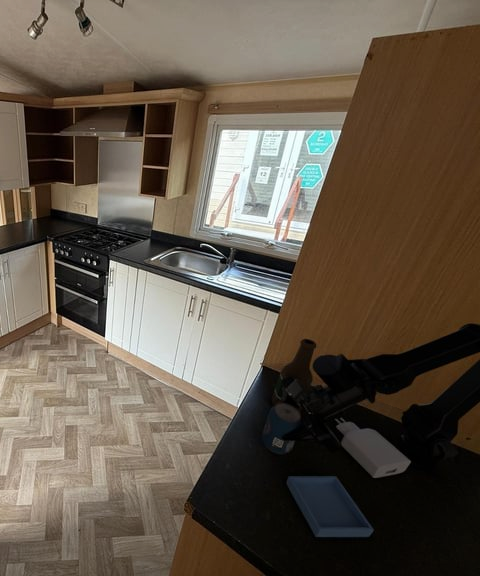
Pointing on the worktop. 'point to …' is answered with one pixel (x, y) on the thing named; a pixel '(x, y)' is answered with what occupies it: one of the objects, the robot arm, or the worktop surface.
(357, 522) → the blue tray
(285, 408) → the soda can
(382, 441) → the charger
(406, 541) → the worktop surface
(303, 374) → the beer bottle
